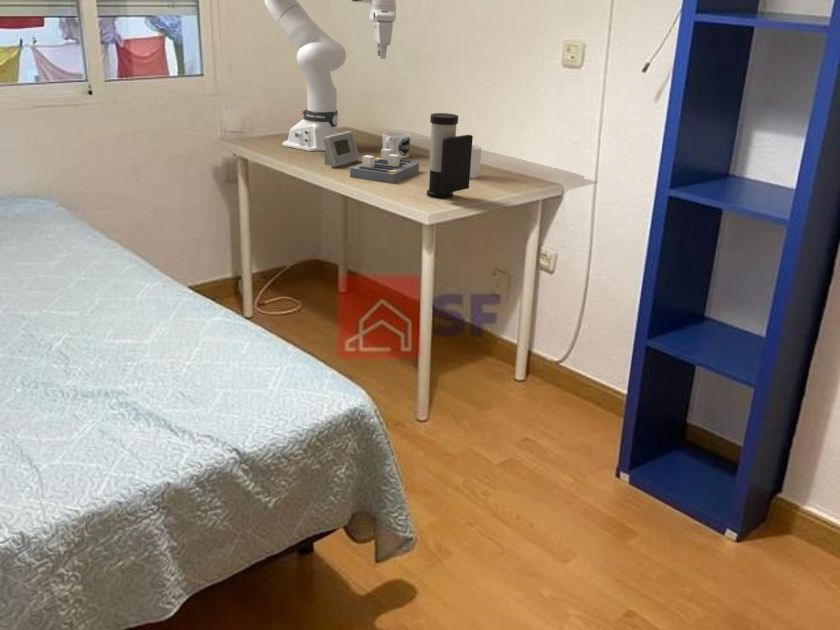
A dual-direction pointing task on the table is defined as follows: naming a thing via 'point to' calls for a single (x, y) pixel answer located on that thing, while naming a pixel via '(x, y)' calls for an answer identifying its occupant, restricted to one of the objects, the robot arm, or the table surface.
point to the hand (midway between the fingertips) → (381, 57)
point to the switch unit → (385, 171)
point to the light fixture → (448, 157)
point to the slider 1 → (368, 161)
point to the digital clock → (340, 149)
